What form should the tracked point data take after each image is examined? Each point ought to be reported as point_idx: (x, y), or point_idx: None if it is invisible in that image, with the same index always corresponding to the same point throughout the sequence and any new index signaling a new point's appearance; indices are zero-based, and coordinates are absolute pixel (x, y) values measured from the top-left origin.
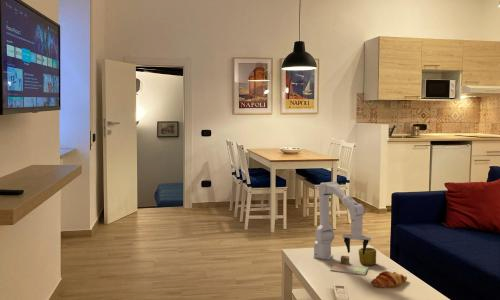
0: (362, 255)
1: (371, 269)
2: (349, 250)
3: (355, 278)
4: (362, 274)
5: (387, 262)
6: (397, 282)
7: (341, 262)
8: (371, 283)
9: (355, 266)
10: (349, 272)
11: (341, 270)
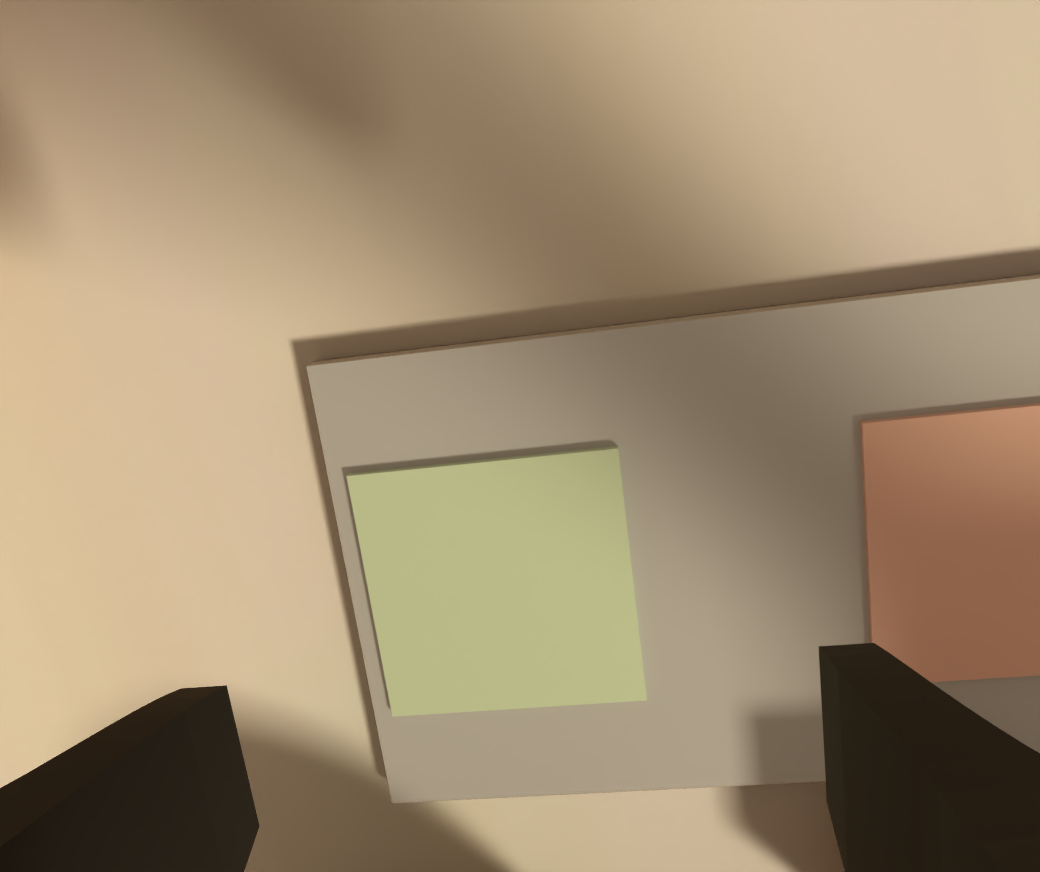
0: None
1: (325, 767)
2: (843, 773)
3: (441, 51)
4: (366, 356)
5: None
6: None
7: None
8: None
9: (655, 748)
10: (674, 319)
11: (897, 340)
